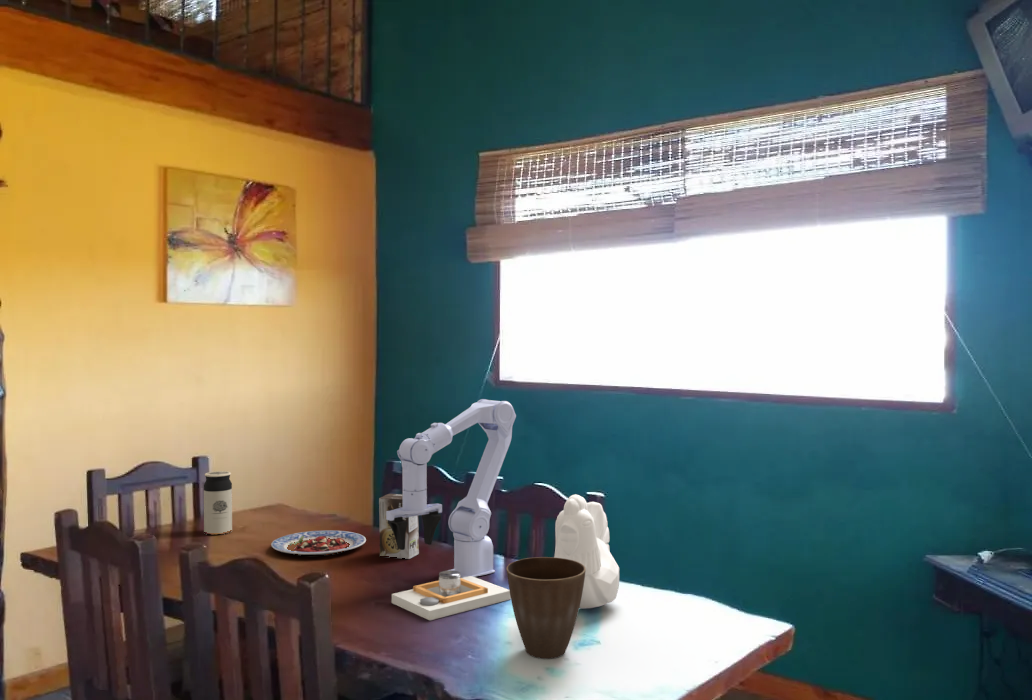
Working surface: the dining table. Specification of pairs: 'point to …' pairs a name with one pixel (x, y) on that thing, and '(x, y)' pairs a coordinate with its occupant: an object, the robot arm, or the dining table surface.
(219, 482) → the travel mug
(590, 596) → the decorative rooster
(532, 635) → the plant pot
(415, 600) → the white flat frame
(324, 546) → the ceramic plate
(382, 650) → the dining table surface
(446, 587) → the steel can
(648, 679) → the dining table surface
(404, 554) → the coffee box
